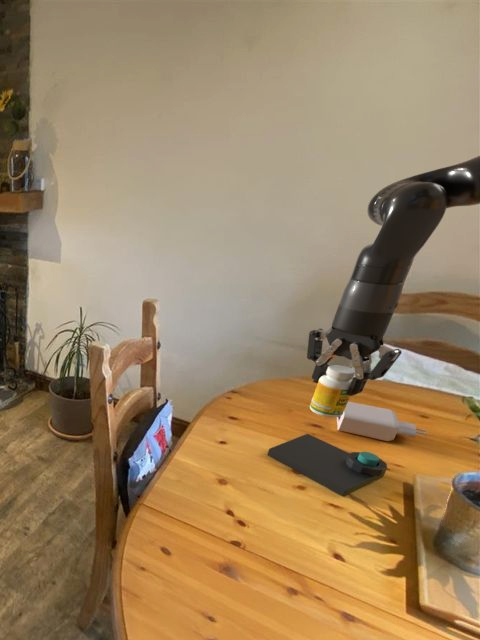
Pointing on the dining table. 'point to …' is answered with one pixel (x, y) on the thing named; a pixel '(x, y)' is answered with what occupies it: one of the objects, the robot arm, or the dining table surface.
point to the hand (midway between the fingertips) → (334, 387)
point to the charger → (374, 422)
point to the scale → (327, 464)
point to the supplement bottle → (332, 391)
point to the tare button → (368, 458)
